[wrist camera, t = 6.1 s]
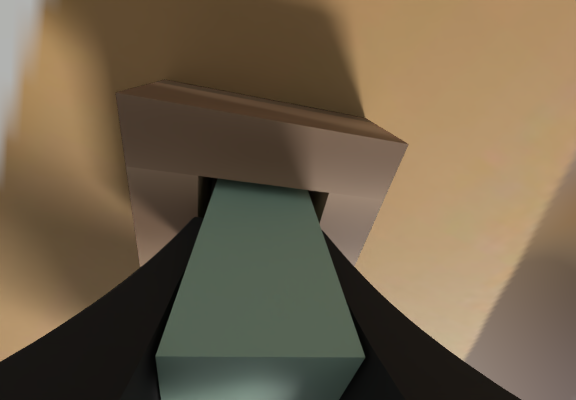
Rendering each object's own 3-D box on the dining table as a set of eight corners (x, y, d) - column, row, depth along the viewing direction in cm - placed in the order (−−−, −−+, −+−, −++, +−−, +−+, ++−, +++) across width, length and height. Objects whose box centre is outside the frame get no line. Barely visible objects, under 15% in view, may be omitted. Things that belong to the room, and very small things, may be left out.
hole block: (318, 257, 16) (334, 312, 13) (172, 246, 15) (145, 305, 11) (365, 118, 12) (408, 144, 8) (164, 79, 10) (115, 92, 7)
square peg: (287, 233, 13) (317, 434, 6) (219, 226, 12) (166, 443, 5) (301, 173, 11) (365, 357, 4) (223, 161, 11) (155, 356, 4)
